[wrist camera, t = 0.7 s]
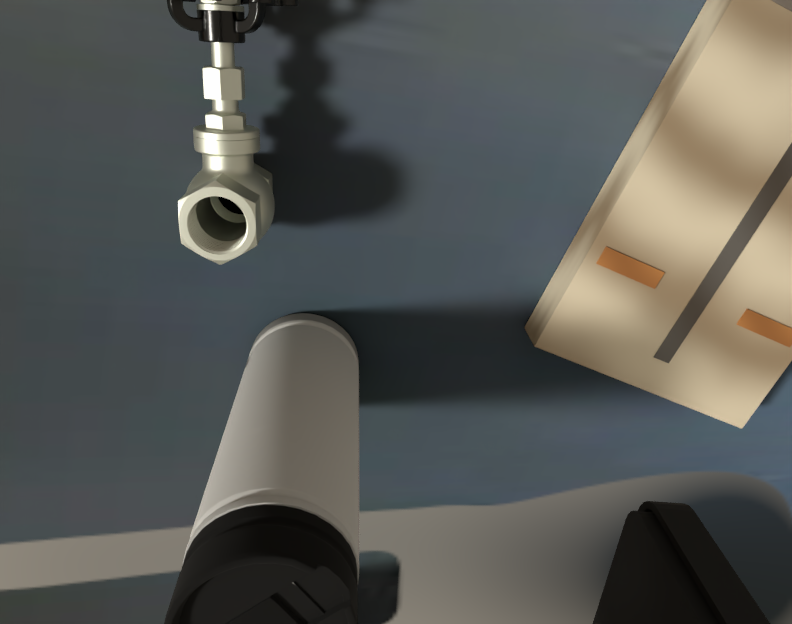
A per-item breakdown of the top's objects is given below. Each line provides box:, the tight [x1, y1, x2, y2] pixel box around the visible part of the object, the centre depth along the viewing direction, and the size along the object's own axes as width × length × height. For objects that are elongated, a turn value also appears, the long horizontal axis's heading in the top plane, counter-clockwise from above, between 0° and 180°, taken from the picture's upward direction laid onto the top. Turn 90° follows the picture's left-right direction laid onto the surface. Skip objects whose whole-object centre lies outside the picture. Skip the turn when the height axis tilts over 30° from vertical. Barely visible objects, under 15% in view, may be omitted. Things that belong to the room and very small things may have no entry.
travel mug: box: [164, 313, 359, 624], centre depth 31 cm, size 6×7×20 cm
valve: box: [167, 0, 298, 265], centre depth 31 cm, size 7×7×12 cm
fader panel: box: [524, 0, 792, 429], centre depth 35 cm, size 26×14×3 cm, turn 156°
